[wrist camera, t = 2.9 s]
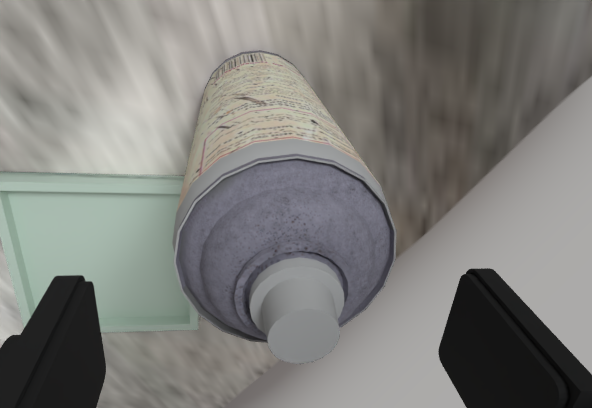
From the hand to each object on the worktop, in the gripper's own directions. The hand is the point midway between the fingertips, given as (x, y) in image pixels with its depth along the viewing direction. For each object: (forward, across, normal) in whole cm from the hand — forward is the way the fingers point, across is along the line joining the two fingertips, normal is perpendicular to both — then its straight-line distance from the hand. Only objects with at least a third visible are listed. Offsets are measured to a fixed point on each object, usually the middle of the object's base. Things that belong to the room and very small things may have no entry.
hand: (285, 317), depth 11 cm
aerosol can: (+19, 0, -1) cm, 19 cm away
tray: (+19, +10, +10) cm, 24 cm away
